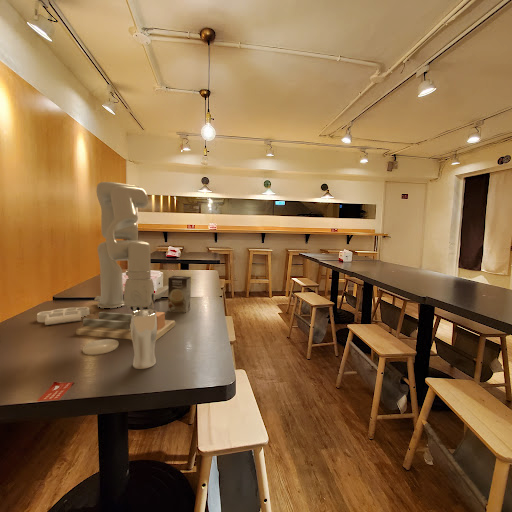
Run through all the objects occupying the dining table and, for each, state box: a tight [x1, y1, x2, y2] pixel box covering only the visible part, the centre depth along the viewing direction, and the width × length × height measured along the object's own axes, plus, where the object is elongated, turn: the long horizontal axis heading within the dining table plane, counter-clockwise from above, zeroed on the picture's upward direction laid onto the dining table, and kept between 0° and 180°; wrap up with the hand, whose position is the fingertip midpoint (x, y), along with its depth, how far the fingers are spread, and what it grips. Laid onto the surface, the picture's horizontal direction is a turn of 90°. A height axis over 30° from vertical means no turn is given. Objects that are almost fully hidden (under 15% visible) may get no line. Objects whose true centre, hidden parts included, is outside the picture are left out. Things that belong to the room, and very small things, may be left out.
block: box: [156, 311, 166, 330], centre depth 101 cm, size 6×5×5 cm
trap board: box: [75, 311, 176, 341], centre depth 102 cm, size 30×16×4 cm, turn 82°
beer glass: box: [130, 309, 157, 370], centre depth 76 cm, size 7×7×15 cm
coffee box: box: [167, 275, 192, 313], centre depth 128 cm, size 9×6×16 cm
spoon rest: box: [155, 284, 168, 301], centre depth 152 cm, size 24×12×7 cm, turn 127°
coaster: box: [82, 338, 120, 356], centre depth 87 cm, size 10×10×1 cm
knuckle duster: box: [36, 306, 90, 326], centre depth 113 cm, size 3×18×15 cm
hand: (140, 323), depth 102 cm, fingers closed
